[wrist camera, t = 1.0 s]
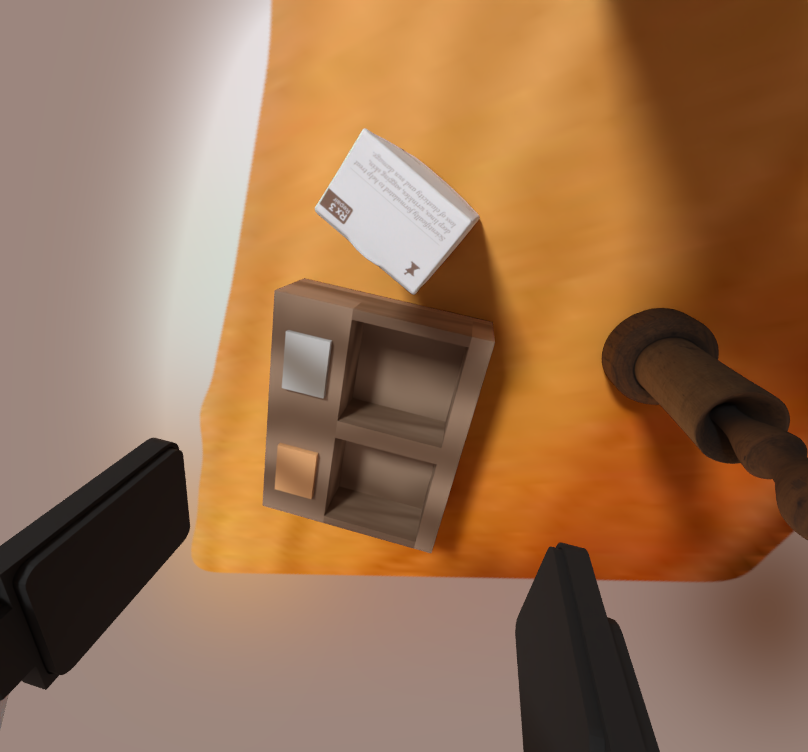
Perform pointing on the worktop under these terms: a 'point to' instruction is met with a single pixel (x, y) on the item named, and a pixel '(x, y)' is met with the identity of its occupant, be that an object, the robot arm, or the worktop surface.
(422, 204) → the skincare box
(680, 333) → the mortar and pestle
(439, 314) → the socket block
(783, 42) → the worktop surface
